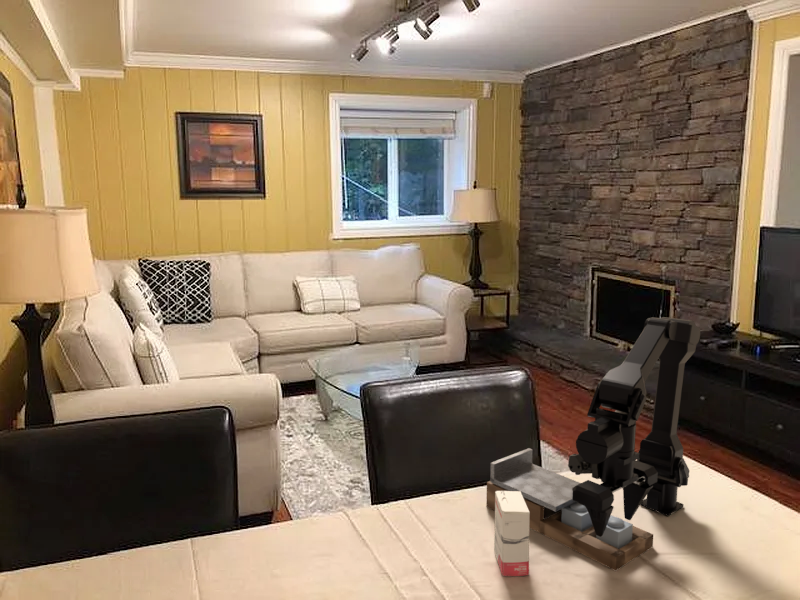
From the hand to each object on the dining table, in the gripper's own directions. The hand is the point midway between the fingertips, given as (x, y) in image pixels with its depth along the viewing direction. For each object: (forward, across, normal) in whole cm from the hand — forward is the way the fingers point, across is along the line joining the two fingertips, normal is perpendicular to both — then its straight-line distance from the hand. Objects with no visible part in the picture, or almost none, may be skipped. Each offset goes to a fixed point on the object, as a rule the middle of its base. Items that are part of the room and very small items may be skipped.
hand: (613, 527), depth 120 cm
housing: (+4, 0, -11) cm, 12 cm away
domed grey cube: (+4, 0, 0) cm, 4 cm away
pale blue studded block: (+4, 0, -8) cm, 9 cm away
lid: (-2, 0, -17) cm, 17 cm away
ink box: (+4, +18, -9) cm, 20 cm away
